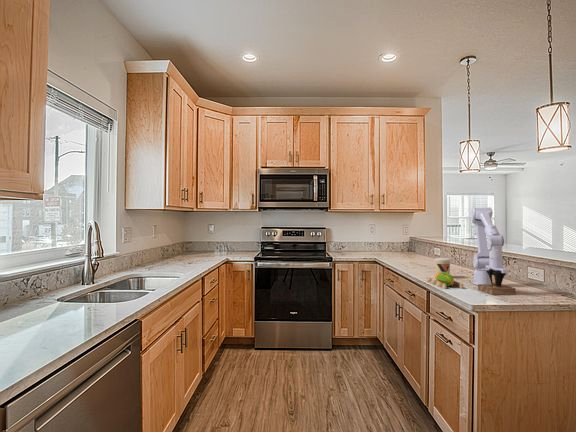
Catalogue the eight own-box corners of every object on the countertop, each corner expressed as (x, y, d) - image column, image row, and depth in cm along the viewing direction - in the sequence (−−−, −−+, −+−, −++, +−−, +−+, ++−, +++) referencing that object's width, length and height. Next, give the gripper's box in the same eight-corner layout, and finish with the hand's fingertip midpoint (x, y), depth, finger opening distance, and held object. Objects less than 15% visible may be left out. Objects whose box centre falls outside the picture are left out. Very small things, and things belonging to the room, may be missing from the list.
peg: (491, 288, 177) (490, 275, 177) (497, 288, 177) (496, 274, 177) (495, 289, 173) (494, 275, 173) (501, 289, 173) (500, 275, 174)
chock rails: (426, 281, 207) (426, 276, 207) (443, 280, 207) (443, 276, 207) (444, 288, 184) (444, 284, 184) (463, 288, 184) (463, 284, 184)
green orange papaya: (444, 274, 186) (429, 268, 206) (443, 288, 186) (428, 281, 206) (457, 275, 186) (441, 269, 206) (457, 288, 186) (441, 282, 206)
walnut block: (478, 289, 181) (477, 284, 181) (500, 289, 181) (500, 283, 181) (491, 294, 169) (491, 288, 169) (515, 294, 169) (515, 288, 169)
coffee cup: (436, 278, 215) (436, 259, 215) (433, 276, 224) (432, 257, 224) (452, 278, 214) (452, 259, 214) (448, 276, 223) (447, 257, 223)
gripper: (479, 257, 182) (480, 282, 182) (496, 260, 168) (497, 288, 168) (492, 256, 182) (493, 282, 182) (511, 260, 168) (511, 287, 168)
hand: (496, 285), depth 175 cm, fingers closed on peg, 3 cm apart
